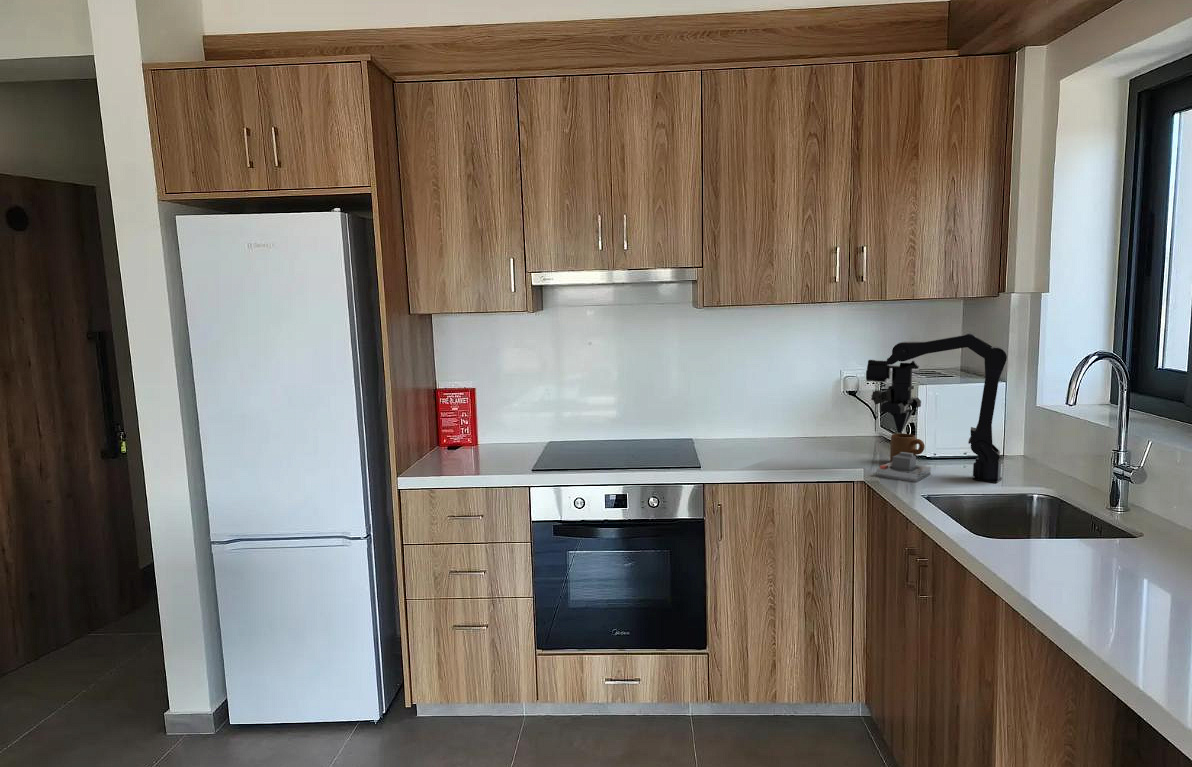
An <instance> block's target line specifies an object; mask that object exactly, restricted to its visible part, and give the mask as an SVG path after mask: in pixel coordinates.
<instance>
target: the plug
mask: <svg viewBox="0 0 1192 767" xmlns="http://www.w3.org/2000/svg"><path fill="white" fill-rule="evenodd" d="M916 463H917V455H915V456H913V453H906V452H900V454H898V455H895V456H893V458H892V469H898V470H905V471H911V472H912V471H913V470H915V469H916V465H917V464H916Z"/></svg>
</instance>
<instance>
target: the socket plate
mask: <svg viewBox="0 0 1192 767" xmlns="http://www.w3.org/2000/svg"><path fill="white" fill-rule="evenodd" d="M931 469H932V467H931V466H926V465H919V464H916V469H915V470H913V471H912V472H911V471H905V470H898V469H892V462H888V463H885V464H882V465H881V464H880V466H879V467H876V477H882V478H885V479H887V478H888V479H894V480H901V481H906V482H913V483H918V482H920V481H922V480H923V479H926V478H927V477H929V476H931V472H932V470H931Z"/></svg>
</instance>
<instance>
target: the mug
mask: <svg viewBox="0 0 1192 767" xmlns="http://www.w3.org/2000/svg"><path fill="white" fill-rule="evenodd" d="M917 445H918V449H917V447H916V446H917ZM889 447H890V451H889V452H890V455H889V456H890V457H889V459H890V460H889V461H890V462H892V458H893V456H895V455H898V454H900V452H906V453H913V456H917V455H921V454H922V453H924V450H925V447H926V446H925V443H924V441H923V440H921V439H920V438H917V437H916V435H915V434H911V433H903V432H901V433H900V432H897V433H892V434H891V435H890V446H889Z"/></svg>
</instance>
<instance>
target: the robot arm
mask: <svg viewBox="0 0 1192 767" xmlns="http://www.w3.org/2000/svg"><path fill="white" fill-rule="evenodd" d="M964 348H968V349H969V350H971V351H973V352H974V353H976V354H977V355H978V356H979V357H981V358H983V360H984V375H985V376H984V383H983V390H982V397H981V404H980V411H979V415H978V416H979V417H978V422H977V425H976V427H972V426H971V427H970V437H969V438H968V442H967V443H968V445H970V449H971V451H972V452H973V454H975V455H976V456H977V457H976V458H975V462H974V463H973V467H972V468H973V470H972V480H973V481H979V482H980V481H981V482H988V483H992V484H993V483H994V484H998V482H1000V481H1001V480H1003V477H1001V476H1002V474H1001V472H1002V470H1001V469H1002V459H1000V458H1001V452H1000V449H999V448H997V447H996V446H995V445H994V444H993V426H992V425H993V419H994V413H995V406H996V405H995V404H996V400H997V395H998V394H997V393H998V388H999V382H1000V381H999V380H1000V379H1001V375H1002V372H1003V371H1004V368H1005V365H1006V362H1007V360H1008V359H1007V358H1008V357H1007V356H1008V355H1007V351H1005V349H1004V348H1002V347H1000V346H996V345H995V346H993V345H991V344H989V343H988V342H985V340H982V339H981V338H979V337H977V336H976V335H975V334H974V333H970V332H969V333H966V334H962V335H957V336H951V337H950V336H949V337H946V338H945V337H944V338H939V339H933V340H928V341H901V342H898V343H897V344H895V345H894V346H893V347H892V350H891V355H890V356H889V357H888V358H886V360H877V359H876V360H875V359H868V361H867V366H866V367H867V368H866V370H865V379H866V382H877V383H878V382H879V383H880V382H882V383H886V382H887V380H889V379H891V385H889V386H888V390H885V391H881V390H880V389H878V390H874V391H872V394H871V398H870V399H871V401H873V403H874V405H878V404H880V405H879V412H880V413H886V414H887V413H888V414H890V415H892V417H893V420H894V423H895V427H896V432H897V433H903V431H904V429H905V427H906V425H907V424H908V422H909V420H910V418H911V416H912V414H913V413H914V412H915V410H914V409H910V407H915V408H920V407H921V406H922V400H921V399H920V398H919V397H912V391H913V390H914V387H915V385H912V383H913V382H912V380H913V370H918V369H919V368H920V366H919V364H917V363H916V362H915V360H913V359H915V358H918V357H921V356H924V355H927V354H933V353H939V352H940V353H941V352H946V351H952V350H958V349H964ZM909 360H912V361H911V362H908V361H909ZM906 361H907V362H906ZM897 362H900V364H899V365H894V364H896V363H897ZM891 369H892V370H891Z"/></svg>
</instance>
